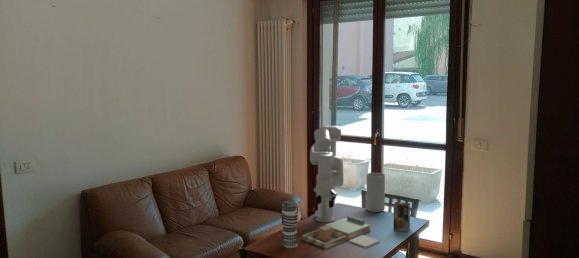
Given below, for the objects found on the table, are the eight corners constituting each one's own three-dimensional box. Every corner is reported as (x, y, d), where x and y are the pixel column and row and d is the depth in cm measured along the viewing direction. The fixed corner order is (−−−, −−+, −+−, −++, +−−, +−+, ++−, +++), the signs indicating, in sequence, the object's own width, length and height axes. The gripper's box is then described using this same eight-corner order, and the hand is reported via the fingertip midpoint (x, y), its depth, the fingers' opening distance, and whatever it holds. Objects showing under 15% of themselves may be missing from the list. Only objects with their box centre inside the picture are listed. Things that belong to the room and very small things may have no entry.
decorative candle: (288, 240, 242) (287, 198, 239) (301, 244, 236) (300, 201, 233) (278, 245, 235) (277, 202, 232) (291, 249, 229) (290, 205, 226)
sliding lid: (324, 226, 255) (324, 221, 255) (345, 219, 268) (345, 214, 267) (348, 234, 241) (348, 229, 241) (369, 226, 253) (369, 221, 253)
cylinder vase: (384, 212, 288) (385, 177, 285) (366, 211, 290) (366, 176, 287) (384, 207, 300) (384, 172, 297) (366, 206, 302) (366, 172, 299)
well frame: (301, 239, 243) (301, 235, 243) (346, 223, 269) (346, 219, 268) (325, 248, 229) (325, 244, 229) (370, 230, 254) (370, 226, 254)
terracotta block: (319, 239, 243) (318, 227, 242) (325, 237, 246) (325, 225, 245) (325, 242, 239) (325, 230, 238) (331, 239, 242) (331, 227, 241)
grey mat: (349, 242, 238) (349, 240, 238) (362, 236, 246) (362, 234, 246) (365, 248, 229) (365, 246, 229) (379, 242, 237) (379, 240, 237)
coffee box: (410, 228, 257) (410, 203, 255) (408, 232, 251) (408, 206, 249) (395, 226, 261) (395, 201, 259) (393, 230, 255) (393, 204, 253)
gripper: (309, 174, 242) (309, 203, 244) (331, 179, 229) (331, 210, 231) (318, 172, 247) (319, 200, 249) (340, 177, 234) (341, 207, 236)
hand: (325, 205), depth 240 cm, fingers open, 9 cm apart
